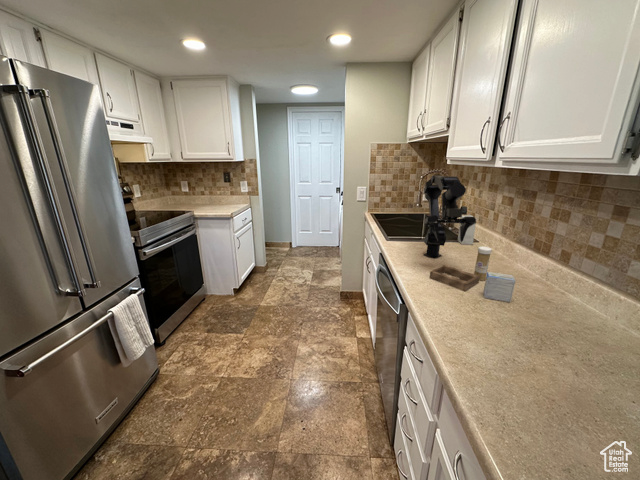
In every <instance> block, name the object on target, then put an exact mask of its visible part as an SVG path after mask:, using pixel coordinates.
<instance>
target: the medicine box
mask: <svg viewBox="0 0 640 480" xmlns="http://www.w3.org/2000/svg"><path fill="white" fill-rule="evenodd" d="M484 281H485V282H484V286H483V293H482V294H483V297H484V299H489V300H494V301H495V300H496V301H501V302H507V303H511V301H512V298H513V293H514V289H515V286H516V285H515V284H516V279H515V277H514V275H513V274H512V275H511V274H505V273H499V272H492V271H487V274H486V280H484Z"/></svg>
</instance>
